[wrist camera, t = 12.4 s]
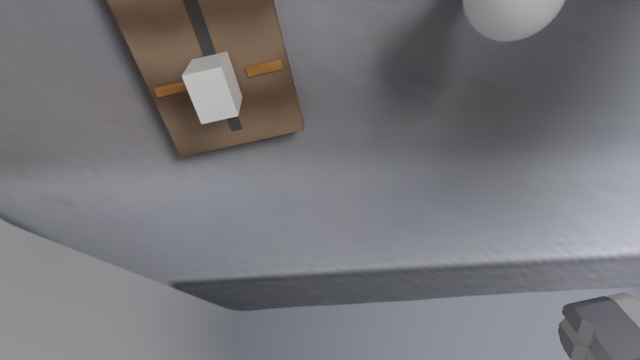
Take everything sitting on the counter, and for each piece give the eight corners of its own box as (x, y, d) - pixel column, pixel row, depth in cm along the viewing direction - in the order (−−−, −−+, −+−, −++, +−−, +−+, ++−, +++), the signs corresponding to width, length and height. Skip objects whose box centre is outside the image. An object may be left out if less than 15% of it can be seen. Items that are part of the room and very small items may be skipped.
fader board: (32, -190, 25) (12, -198, 23) (214, -237, 24) (209, -250, 23) (185, 147, 39) (180, 158, 37) (303, 120, 38) (304, 130, 37)
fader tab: (191, 59, 32) (181, 75, 29) (227, 51, 32) (221, 66, 29) (209, 104, 34) (201, 124, 31) (242, 96, 34) (238, 116, 31)
